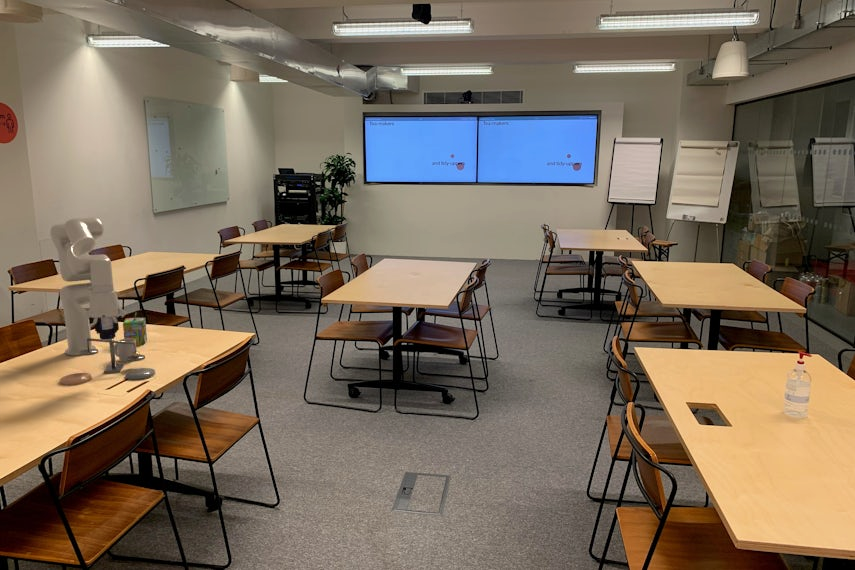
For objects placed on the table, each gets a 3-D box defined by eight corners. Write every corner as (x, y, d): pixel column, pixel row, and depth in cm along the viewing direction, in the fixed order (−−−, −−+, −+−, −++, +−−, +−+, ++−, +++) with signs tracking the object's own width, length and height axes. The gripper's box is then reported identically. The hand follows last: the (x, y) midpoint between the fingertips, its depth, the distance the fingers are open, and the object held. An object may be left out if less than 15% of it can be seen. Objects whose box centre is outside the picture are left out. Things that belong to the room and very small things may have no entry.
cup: (131, 362, 270) (129, 343, 268) (109, 361, 271) (107, 342, 269) (140, 357, 277) (138, 338, 275) (119, 356, 278) (117, 337, 276)
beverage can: (118, 337, 252) (115, 308, 249) (111, 341, 246) (108, 312, 244) (104, 337, 252) (101, 308, 249) (97, 341, 246) (94, 312, 243)
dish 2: (128, 372, 259) (128, 369, 258) (157, 369, 262) (156, 367, 261) (123, 381, 248) (123, 378, 248) (153, 378, 251) (152, 376, 251)
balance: (84, 369, 262) (80, 336, 259) (147, 364, 268) (144, 332, 265) (79, 375, 254) (75, 341, 251) (144, 370, 261) (141, 337, 258)
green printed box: (127, 340, 302) (124, 311, 298) (147, 339, 304) (145, 310, 301) (124, 346, 293) (121, 316, 290) (145, 344, 296) (142, 315, 293)
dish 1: (65, 376, 252) (64, 374, 252) (94, 374, 255) (94, 371, 255) (56, 386, 242) (56, 383, 242) (87, 383, 245) (87, 381, 245)
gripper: (76, 291, 239) (81, 336, 243) (124, 289, 243) (128, 333, 247) (81, 287, 246) (86, 331, 250) (128, 285, 250) (132, 328, 254)
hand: (107, 331), depth 248 cm, fingers closed on beverage can, 5 cm apart
